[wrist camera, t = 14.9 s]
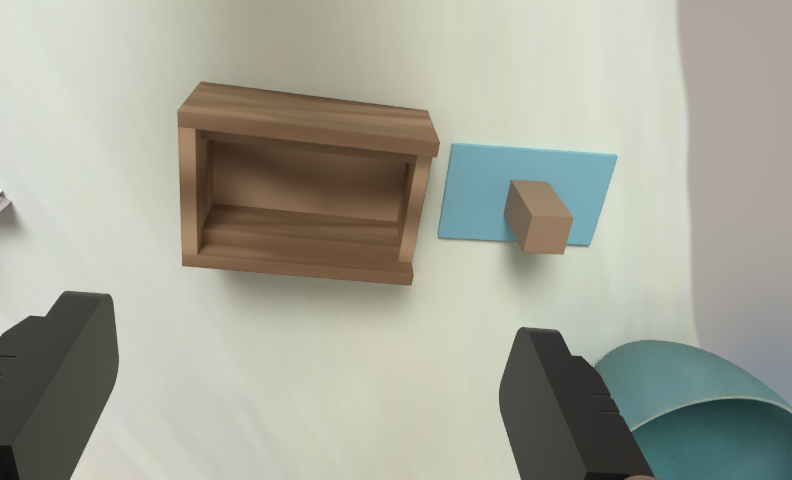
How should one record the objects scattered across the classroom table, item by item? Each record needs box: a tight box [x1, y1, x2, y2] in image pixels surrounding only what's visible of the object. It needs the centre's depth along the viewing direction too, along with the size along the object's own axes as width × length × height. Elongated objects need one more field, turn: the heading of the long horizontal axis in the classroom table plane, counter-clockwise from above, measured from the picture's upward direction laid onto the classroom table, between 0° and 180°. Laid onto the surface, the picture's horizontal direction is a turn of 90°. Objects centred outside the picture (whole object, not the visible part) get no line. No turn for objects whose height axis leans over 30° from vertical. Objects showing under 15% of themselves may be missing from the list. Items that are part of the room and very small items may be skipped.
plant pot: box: [595, 340, 792, 480], centre depth 52 cm, size 18×18×12 cm
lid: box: [438, 143, 618, 254], centre depth 44 cm, size 8×13×7 cm, turn 84°
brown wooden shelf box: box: [178, 82, 440, 285], centre depth 41 cm, size 11×16×6 cm
